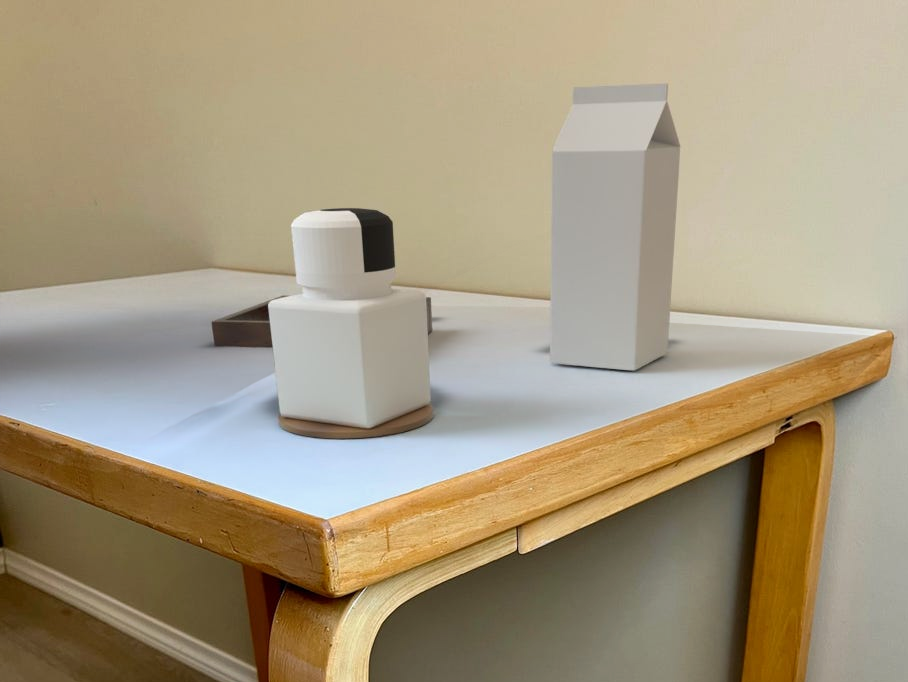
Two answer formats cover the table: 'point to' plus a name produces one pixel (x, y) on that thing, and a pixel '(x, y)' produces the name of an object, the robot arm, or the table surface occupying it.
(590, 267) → the milk carton
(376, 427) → the cork coaster
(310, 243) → the medicine bottle
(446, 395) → the table surface
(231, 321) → the walnut frame box
